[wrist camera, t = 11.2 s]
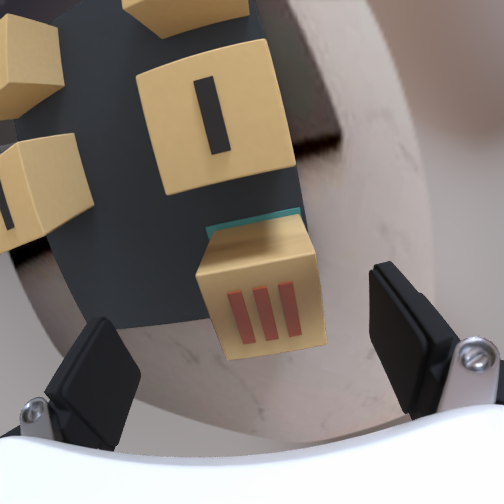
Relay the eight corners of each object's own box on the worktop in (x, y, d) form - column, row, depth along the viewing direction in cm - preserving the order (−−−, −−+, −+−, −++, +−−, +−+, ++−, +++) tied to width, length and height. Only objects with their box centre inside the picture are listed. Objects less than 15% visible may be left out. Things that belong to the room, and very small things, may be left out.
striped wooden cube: (311, 288, 15) (327, 346, 11) (234, 302, 16) (226, 363, 12) (299, 212, 14) (316, 253, 9) (213, 230, 14) (193, 276, 10)
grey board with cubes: (316, 295, 16) (334, 357, 11) (94, 328, 18) (61, 377, 13) (235, -52, 8) (226, -106, 4) (11, 56, 10) (-43, 53, 5)
